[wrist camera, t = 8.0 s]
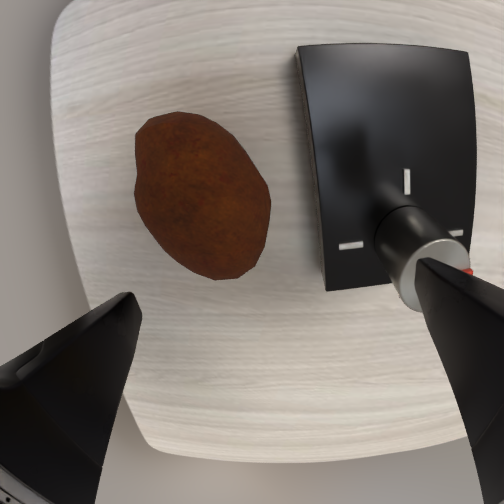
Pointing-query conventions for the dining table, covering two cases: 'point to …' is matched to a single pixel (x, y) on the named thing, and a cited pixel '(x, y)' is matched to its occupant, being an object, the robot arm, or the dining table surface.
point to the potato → (201, 195)
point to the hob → (386, 146)
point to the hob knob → (415, 249)
